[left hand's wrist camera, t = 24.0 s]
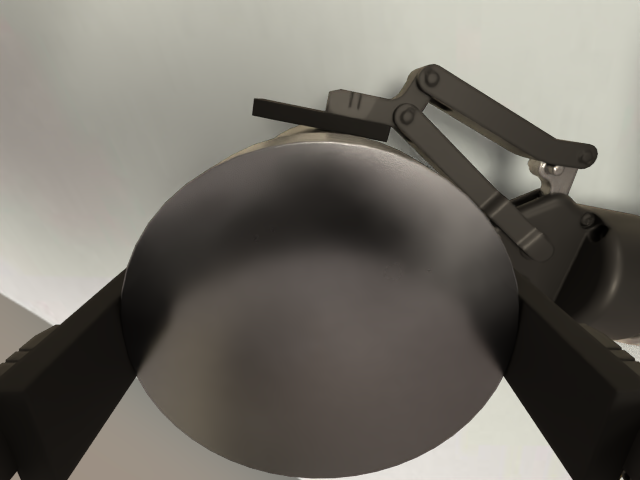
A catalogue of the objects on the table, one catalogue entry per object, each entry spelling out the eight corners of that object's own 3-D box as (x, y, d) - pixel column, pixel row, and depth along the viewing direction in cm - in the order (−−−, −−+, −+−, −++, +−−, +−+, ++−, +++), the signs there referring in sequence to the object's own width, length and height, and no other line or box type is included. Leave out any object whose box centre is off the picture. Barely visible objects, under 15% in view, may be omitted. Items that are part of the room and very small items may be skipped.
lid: (90, 207, 11) (34, 232, 9) (442, 72, 10) (477, 63, 8) (240, 449, 15) (226, 509, 13) (508, 377, 14) (545, 430, 11)
